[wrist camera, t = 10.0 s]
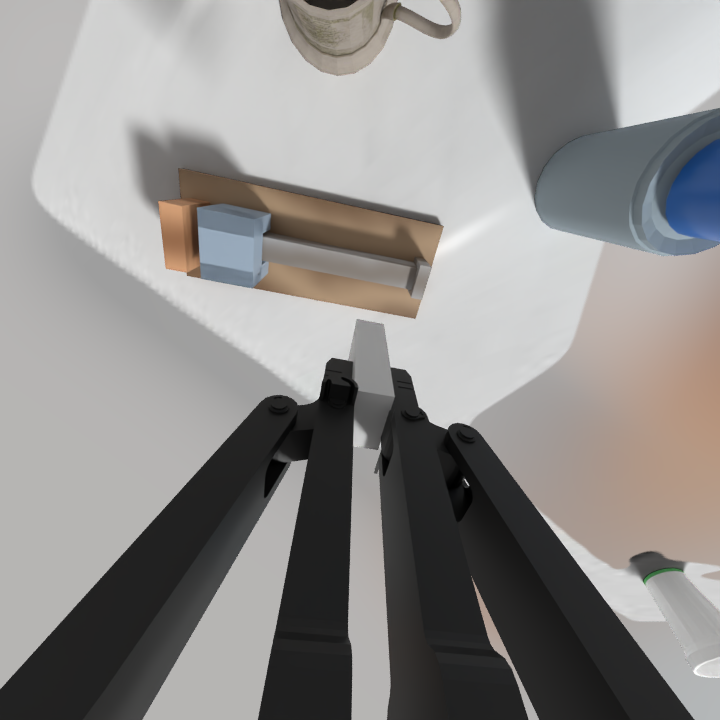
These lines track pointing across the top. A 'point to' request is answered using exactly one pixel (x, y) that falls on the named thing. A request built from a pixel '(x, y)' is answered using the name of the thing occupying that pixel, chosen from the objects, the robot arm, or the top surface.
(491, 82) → the top surface
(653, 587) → the cup
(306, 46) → the mug
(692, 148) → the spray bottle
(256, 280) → the slider
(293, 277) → the rail board
